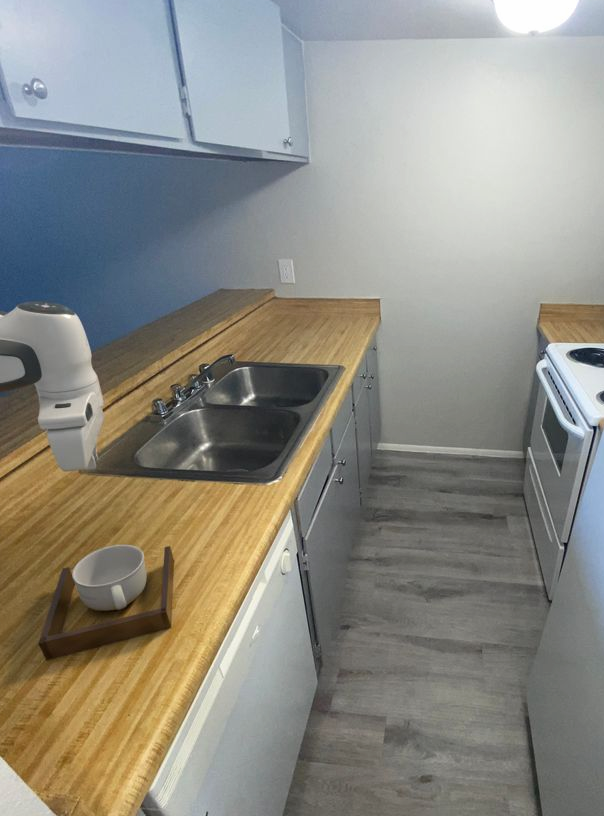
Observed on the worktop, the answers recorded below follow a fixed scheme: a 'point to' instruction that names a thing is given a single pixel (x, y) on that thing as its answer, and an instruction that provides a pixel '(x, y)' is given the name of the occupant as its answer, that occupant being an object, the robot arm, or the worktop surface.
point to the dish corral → (106, 632)
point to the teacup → (110, 577)
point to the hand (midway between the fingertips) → (92, 465)
